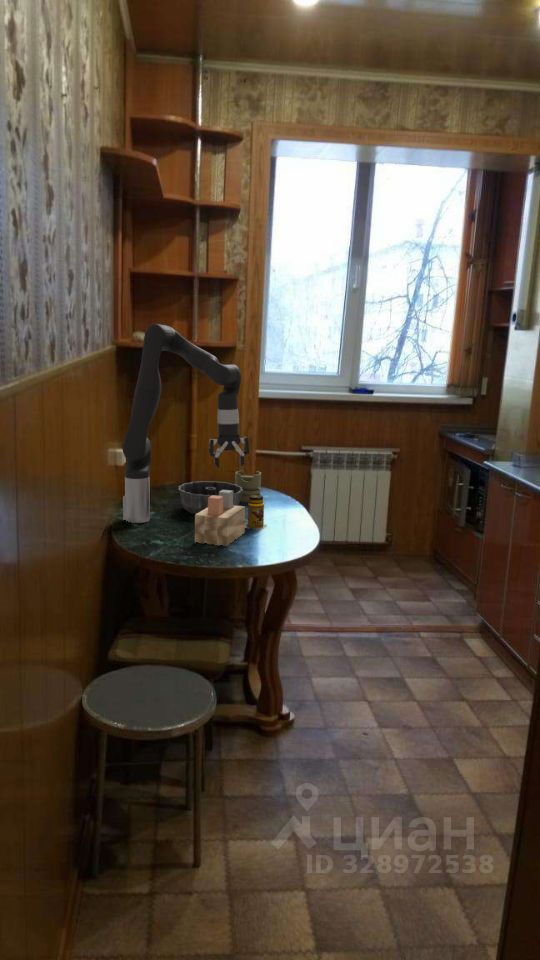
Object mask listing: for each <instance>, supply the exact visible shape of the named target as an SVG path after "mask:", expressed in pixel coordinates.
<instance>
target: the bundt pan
mask: <svg viewBox="0 0 540 960" xmlns="http://www.w3.org/2000/svg"><path fill="white" fill-rule="evenodd" d="M222 490H231V491H233V505H235V506H240V503H241V502H240V498H241V493H242V492H243V490H242V487H240V486H237V485H236V484H235V483H230V482H225V481H216V480H214V481H207V480H205V481H203V480H201V481H191V482H186V483H182V484H181V485H178V491H179V495H180V496H179V497H180V503H181V506H182V508H183V509H184V510H185V511H187V512H189V513H190V514H193V515H194V514H197V513H199V512H201V511H202V510H204V509H206V508H208V498H209V497H210V496H212V495H214V496H219V492H220V491H222Z"/></svg>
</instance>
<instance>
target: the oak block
mask: <svg viewBox="0 0 540 960" xmlns="http://www.w3.org/2000/svg"><path fill="white" fill-rule="evenodd" d="M245 523H246V506H243V505H239V506H235V505H233V508H231V509H230V510H229V509H223V514H222V515H220V516H214V515H208V508H206V509H204V510H202V511H201V512H199V513H197V514H195V515H194V543H196V542H198V544H204V543H207V544H206V545H212V544H214V546H220V545H223V546H222V547H228V546H229V545H231V544H232V543H233V542H235V541H236V540H237V539H239V538H240V537H241V536H243V535H244V534H245V533H246V530H245V529H246V528H245ZM242 534H243V535H242ZM238 537H239V538H238ZM235 539H236V540H235ZM234 540H235V541H234ZM230 543H231V544H230Z"/></svg>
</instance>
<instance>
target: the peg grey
mask: <svg viewBox="0 0 540 960" xmlns="http://www.w3.org/2000/svg"><path fill="white" fill-rule="evenodd" d="M219 496H223V509H229V510H230V509H231V508H233V491H231V490H222V491H220V492H219Z"/></svg>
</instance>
